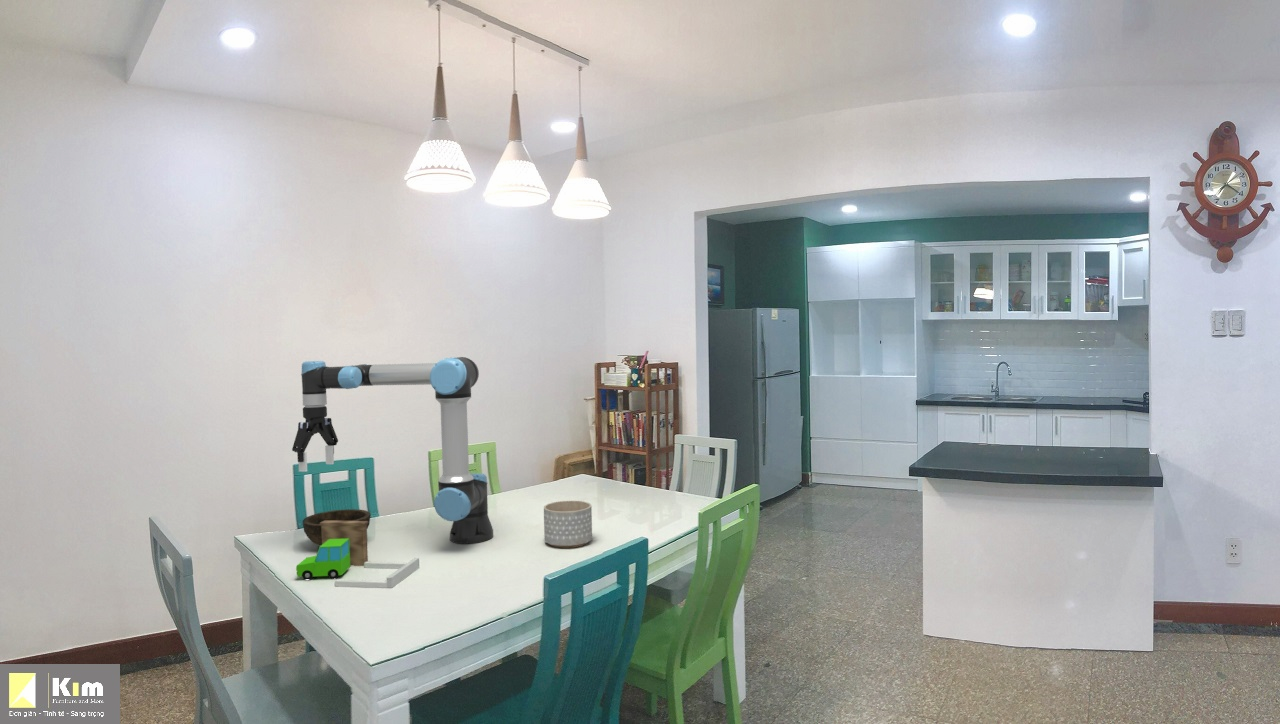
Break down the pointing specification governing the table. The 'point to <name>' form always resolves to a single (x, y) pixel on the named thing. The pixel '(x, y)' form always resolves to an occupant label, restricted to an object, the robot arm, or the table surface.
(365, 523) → the brown textured panel
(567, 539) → the planter
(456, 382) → the robot arm
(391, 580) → the bay
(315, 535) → the bowl
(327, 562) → the toy car
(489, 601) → the table surface
